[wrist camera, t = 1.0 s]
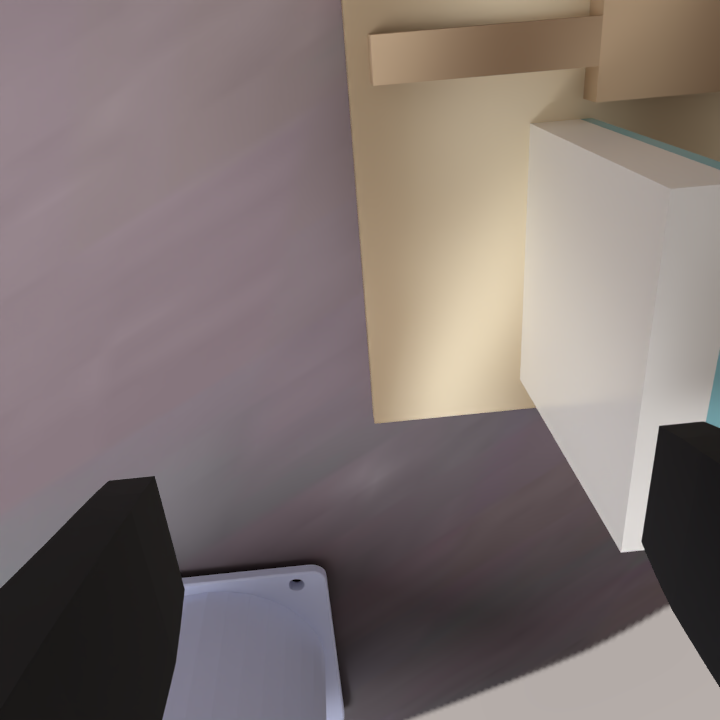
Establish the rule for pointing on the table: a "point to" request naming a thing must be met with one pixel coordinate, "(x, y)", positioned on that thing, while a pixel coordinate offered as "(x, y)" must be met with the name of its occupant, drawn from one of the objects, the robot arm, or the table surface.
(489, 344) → the board
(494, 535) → the table surface
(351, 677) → the table surface
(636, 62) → the spatula
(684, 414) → the tile
